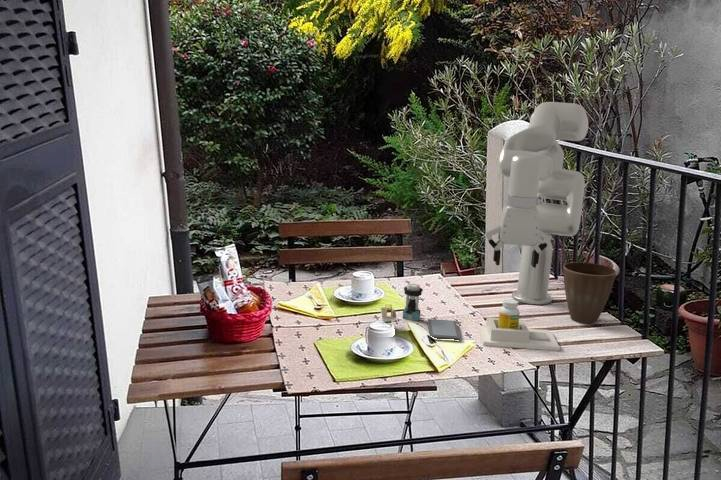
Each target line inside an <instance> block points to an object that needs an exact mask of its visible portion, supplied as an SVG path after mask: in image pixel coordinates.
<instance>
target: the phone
mask: <svg viewBox="0 0 721 480" xmlns="http://www.w3.org/2000/svg"><path fill="white" fill-rule="evenodd" d="M427 327H428V328H427V329H428V334H430V336H432V337H434V338H437V339H454V340H459V341H460V342H461V335H460V332H459V327H458V324H457V321H456V320H447V319H437V318H436V319H435V318H434V319H433V318H428V319H427ZM430 336H429V337H430Z"/></svg>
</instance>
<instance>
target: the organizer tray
mask: <svg viewBox="0 0 721 480" xmlns="http://www.w3.org/2000/svg"><path fill="white" fill-rule="evenodd" d="M498 322H499V317H486V322H485V323H486V324H485V325H479V324H478V325H477V330H478V333H479V337H480V340H481V342H482V345H483V346H487V347H488V346H489V347H499V348H500V347H502V348H514V349H515V348H517V349H529V350H530V349H531V350H541V351H542V350H543V351H556V352H557V351H558V352H559V351H560V349H561V346H560V345H559V343H558V341H557V340H556V338H555V337H554V335H553V333H552V332H551V330H550V329H538V328H537V329H535V328H528V326H527V324H526V322H525V321H524V319H519V323H518V330H516V329H501V328H498Z"/></svg>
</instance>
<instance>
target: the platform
mask: <svg viewBox="0 0 721 480" xmlns="http://www.w3.org/2000/svg"><path fill="white" fill-rule="evenodd" d="M388 313H390V315H389V316H388ZM380 314H381V320H382V322H383V323H384V322H385V323H391V324H392V321H396V320H397V312H396V309H394V308H393V305H392V304H385V306H384V307H380Z"/></svg>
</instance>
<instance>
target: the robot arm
mask: <svg viewBox="0 0 721 480" xmlns="http://www.w3.org/2000/svg"><path fill="white" fill-rule="evenodd" d="M529 117H530V118H529V124H528V127H527V128H525V129H523V130H520V131H518V132H517V133H514V134H513V135H511V136H510V137H509V138H507V140H506V141H505V143H504V144H503V146H502V149H501V151H500V154H499V158H498V162H497V169H498V172H499V174H500V175H501V176H503V177H506V178H509V183H508V193H507V200H506V201H507V204H504V205H503V207H502V211H501V214H500V219H499V226H497V227H495V228H493V229H490V230H487V231H486V232H485V233H484V234H485V236H486V239H487V242H488V243H489V245H490V246H491V248H493V257H492V259H493V262H495V265H496V266H499V265H500V262H501V248H503V246H505V245H510V246H511V245H512V246H513V245H514V246H522V247H521V255H520V262H519V263H520V264H519V272H518V281H517V282H518V283H517V290H514V291H513V292H512V293H511V299H513V300H516V301H518V302H520V303H523V304H527V305H528V304H529V305H548V304H550V303H552V301H553V297H552V296H551V295H550V294H549V293H548V292H549V285H550V275H551V268H552V259H553V251H554V250H553V249H554V247H553V244H552V236H551V235H556V236H564V237H574V236H576V235H577V234H578V232H579V229H580V224H581V217H582V210H583V202H584V201H583V200H584V196H585V185H586V182H585V177H584V175H583V173H581V172H580V171H577V170H570V169H563V164H564V156H565V154H564V150H563V148H562V146H561V145H560V143H559V142H558V141H557V140H560V141H573V142H579V141H583V140H584V139H585V137H587V134H588V130H589V117H588V115H587V112H586V110H585V108H584V107H583V106H582V105H580V104H578V103H572V102H561V101H560V102H559V101H558V102H557V101H545V102H542V103H540V104H539V105H537V106H536V108H535V110H534V111H533V113H532V114H531V115H530V116H529ZM543 199H546V200H547V199H548V200H556V201H564V202H566V203H567V204H566V205H565V204H557V203H552V202H551V203H549V202H544V200H543ZM495 235H497V239H498V240H497V241H496V242H495V241H494V239H493V236H495Z"/></svg>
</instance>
